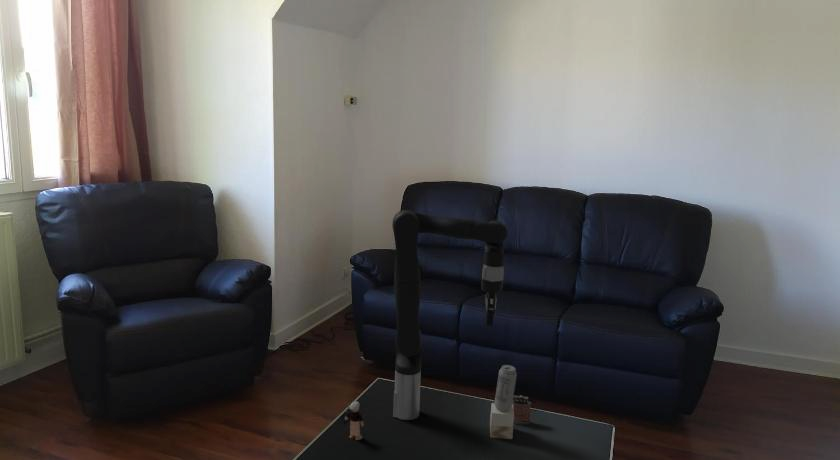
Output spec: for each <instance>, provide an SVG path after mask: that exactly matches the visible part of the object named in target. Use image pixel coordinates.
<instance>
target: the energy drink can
mask: <svg viewBox="0 0 840 460" xmlns="http://www.w3.org/2000/svg"><path fill="white" fill-rule="evenodd" d="M517 373H518V372H517V371H516V367H514V366H513V365H510V364H503V365H502V366H501V368H500V369H499V371H498V377H497V383H496V390H495V397H494V402H493V403H494V405H495V406H496V409H498V410H500V411H504V412H506V411H509V410H510V409H511V408H512V402H513V396H515V395H514V393H515V389H516V382H517Z"/></svg>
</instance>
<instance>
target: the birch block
mask: <svg viewBox="0 0 840 460" xmlns="http://www.w3.org/2000/svg"><path fill="white" fill-rule="evenodd" d="M489 417H490V418H489V434H490V435H489V436H490V438H494V439H495V438H496V439H508V440H513V435H514V426H513V427H507V426H495V425H491V414H490V416H489Z"/></svg>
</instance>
